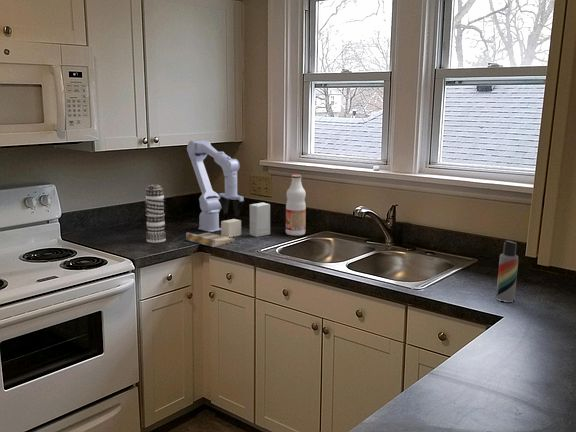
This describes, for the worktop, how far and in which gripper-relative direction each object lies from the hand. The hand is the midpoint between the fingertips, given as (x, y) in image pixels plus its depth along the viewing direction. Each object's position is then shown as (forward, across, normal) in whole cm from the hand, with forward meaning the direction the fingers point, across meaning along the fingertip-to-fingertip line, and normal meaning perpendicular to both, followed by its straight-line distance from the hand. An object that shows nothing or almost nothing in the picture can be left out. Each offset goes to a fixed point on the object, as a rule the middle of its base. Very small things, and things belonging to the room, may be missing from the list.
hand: (231, 214), depth 272 cm
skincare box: (+10, +9, +10) cm, 17 cm away
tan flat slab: (+10, +1, -13) cm, 16 cm away
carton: (+10, 0, 0) cm, 10 cm away
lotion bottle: (+10, +129, +1) cm, 129 cm away
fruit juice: (+10, +19, +24) cm, 32 cm away
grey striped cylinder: (+10, -17, -30) cm, 36 cm away
